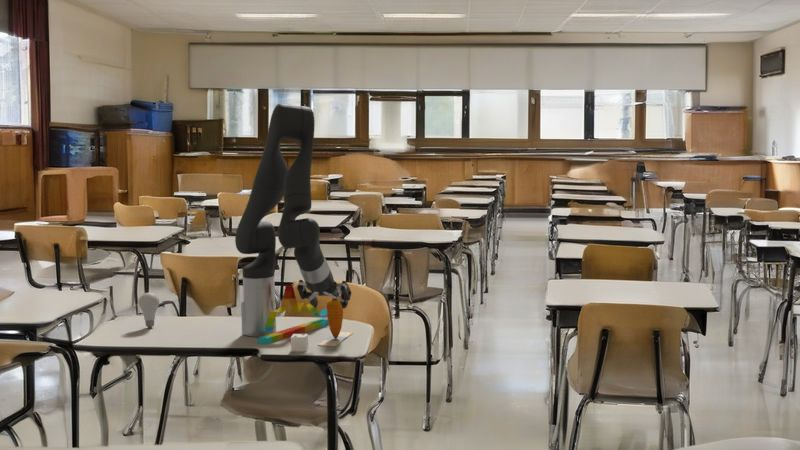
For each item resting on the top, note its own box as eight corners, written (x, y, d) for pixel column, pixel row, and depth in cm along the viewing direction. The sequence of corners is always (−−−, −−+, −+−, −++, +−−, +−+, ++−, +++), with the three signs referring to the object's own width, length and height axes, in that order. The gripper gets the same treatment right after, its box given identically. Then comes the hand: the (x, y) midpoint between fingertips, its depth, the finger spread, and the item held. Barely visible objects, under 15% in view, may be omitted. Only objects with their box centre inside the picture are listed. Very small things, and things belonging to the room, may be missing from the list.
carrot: (331, 336, 271) (330, 285, 270) (347, 337, 270) (345, 285, 268) (324, 340, 267) (322, 288, 265) (340, 341, 265) (339, 288, 263)
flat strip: (317, 345, 261) (317, 344, 261) (336, 332, 277) (336, 331, 277) (334, 346, 260) (334, 345, 260) (353, 333, 276) (353, 332, 276)
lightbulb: (144, 331, 283) (143, 295, 282) (136, 327, 288) (134, 292, 287) (163, 328, 287) (162, 292, 286) (155, 324, 292) (153, 290, 291)
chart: (322, 323, 291) (321, 276, 289) (330, 324, 289) (329, 277, 288) (257, 344, 265) (255, 292, 264) (265, 345, 264) (264, 293, 262)
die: (291, 351, 255) (290, 336, 255) (293, 348, 259) (293, 333, 259) (305, 351, 255) (305, 336, 255) (308, 348, 259) (307, 333, 259)
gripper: (343, 260, 251) (357, 295, 263) (293, 259, 255) (309, 293, 267) (338, 283, 247) (352, 317, 259) (287, 282, 250) (303, 315, 262)
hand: (330, 305), depth 263 cm, fingers open, 8 cm apart
